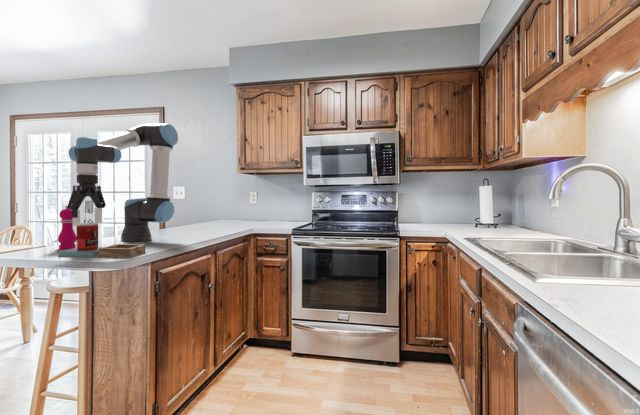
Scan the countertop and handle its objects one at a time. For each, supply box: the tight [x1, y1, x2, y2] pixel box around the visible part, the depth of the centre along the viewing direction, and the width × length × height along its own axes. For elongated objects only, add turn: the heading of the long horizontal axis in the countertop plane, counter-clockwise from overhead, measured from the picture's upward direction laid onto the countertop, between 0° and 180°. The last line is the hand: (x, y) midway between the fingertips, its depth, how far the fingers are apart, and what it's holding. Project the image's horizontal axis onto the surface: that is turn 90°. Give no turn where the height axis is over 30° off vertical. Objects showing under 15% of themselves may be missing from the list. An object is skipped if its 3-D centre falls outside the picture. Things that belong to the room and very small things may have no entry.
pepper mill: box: [57, 205, 77, 250], centre depth 163 cm, size 7×7×20 cm
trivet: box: [58, 246, 103, 258], centre depth 151 cm, size 14×14×2 cm
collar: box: [98, 243, 146, 258], centre depth 151 cm, size 13×13×4 cm
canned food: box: [76, 222, 99, 250], centre depth 151 cm, size 8×8×11 cm
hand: (88, 224), depth 151 cm, fingers open, 13 cm apart
